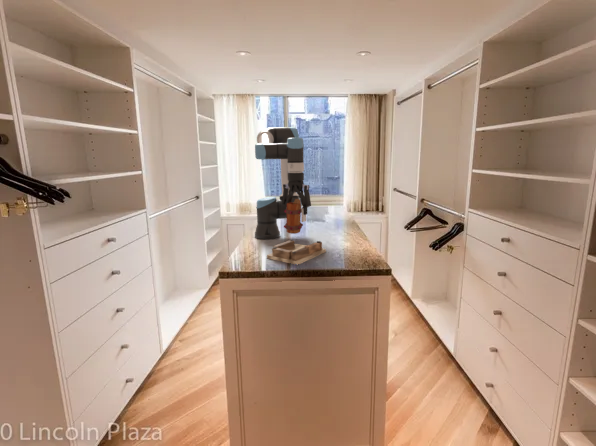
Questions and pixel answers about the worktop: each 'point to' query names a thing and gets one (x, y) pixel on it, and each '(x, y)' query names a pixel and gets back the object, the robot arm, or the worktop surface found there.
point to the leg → (314, 247)
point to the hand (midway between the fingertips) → (296, 220)
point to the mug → (293, 217)
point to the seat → (292, 253)
